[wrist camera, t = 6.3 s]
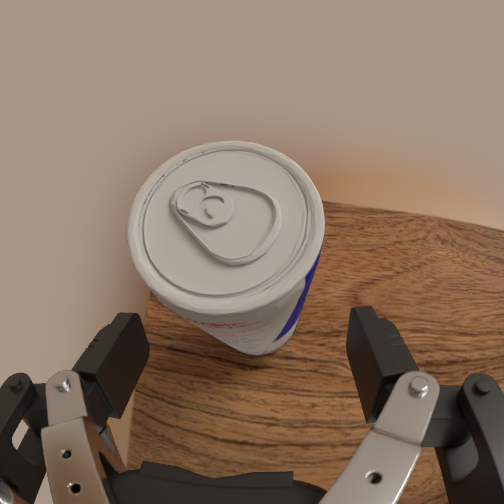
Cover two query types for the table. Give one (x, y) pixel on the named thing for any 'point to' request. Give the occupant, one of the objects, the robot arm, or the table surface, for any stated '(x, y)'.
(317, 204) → the beverage can
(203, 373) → the table surface
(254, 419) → the table surface
